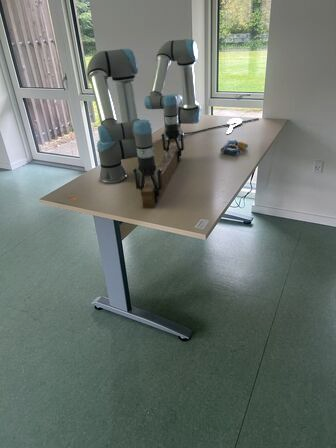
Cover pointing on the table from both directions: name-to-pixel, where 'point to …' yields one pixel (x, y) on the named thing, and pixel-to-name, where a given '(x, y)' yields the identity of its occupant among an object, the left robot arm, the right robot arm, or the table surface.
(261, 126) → the table surface
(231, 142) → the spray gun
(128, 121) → the left robot arm
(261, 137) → the table surface
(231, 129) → the spoon
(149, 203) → the bar
